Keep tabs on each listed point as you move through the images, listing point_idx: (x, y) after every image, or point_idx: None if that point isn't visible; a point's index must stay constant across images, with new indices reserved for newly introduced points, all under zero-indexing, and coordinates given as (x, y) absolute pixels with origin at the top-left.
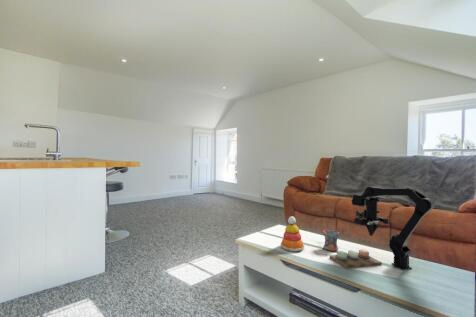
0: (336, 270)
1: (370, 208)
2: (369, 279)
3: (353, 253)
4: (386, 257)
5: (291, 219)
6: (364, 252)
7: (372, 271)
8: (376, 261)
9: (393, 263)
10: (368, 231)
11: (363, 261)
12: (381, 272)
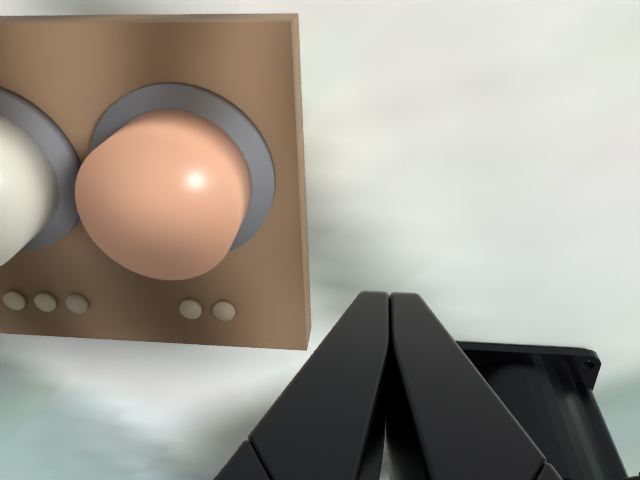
0: None
1: None
2: (8, 461)
3: None
4: (628, 166)
5: None
6: (134, 254)
7: (109, 391)
8: (257, 323)
9: (472, 356)
10: (300, 374)
11: (79, 301)
12: (183, 420)
